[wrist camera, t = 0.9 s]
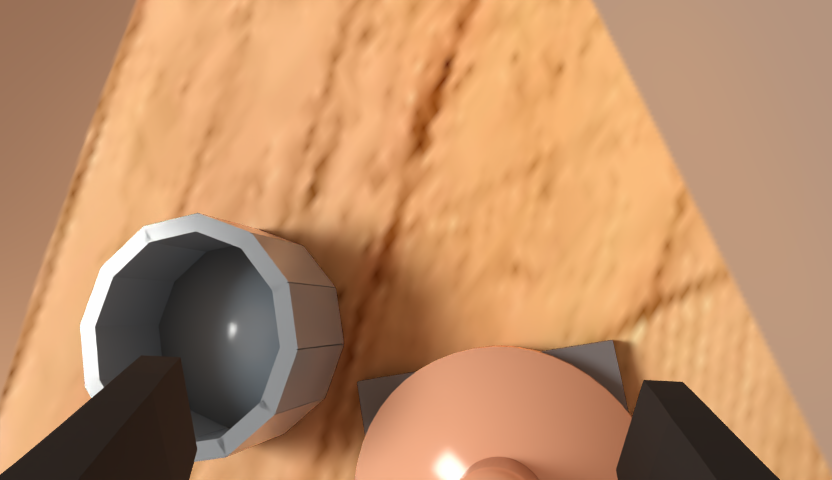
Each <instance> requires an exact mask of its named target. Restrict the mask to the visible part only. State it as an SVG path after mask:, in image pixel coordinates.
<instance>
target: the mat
mask: <svg viewBox="0 0 832 480" xmlns="http://www.w3.org/2000/svg"><path fill="white" fill-rule="evenodd" d="M540 352H543V353H546V354H549V355H553V356H555V357H557V358H559V359H562V360H564V361H566V362H568V363H571V364H572V365H574V366H576V367H577V368H579V369H581V370H582V371H584V372H586V373H587V374H589V375H590V376H591V377H593V378H594V379H595V380H597V381H598V382H599V383H600V384H602V385H603V386H604V387H605V388H606V389H607V390H608V391H609V392H610V393H611V394H612V395H613V396H614V397H615V398H616V399H617V400H618V401H619V402H620V403H621V404H622V405H623V406H624V408H625V409H626V410H627V412H628V408H627V403H626V398H625V394H624V389H623V385H622V380H621V376H620V371H619V366H618V362H617V357H616V353H615V348H614V344H613V340H608V341H602V342H595V343H589V344H583V345H577V346H571V347H565V348H558V349H552V350H546V351H540ZM416 372H417V371H416ZM414 373H415V372H410V373H404V374H398V375H392V376H385V377H379V378H373V379H367V380H362V381H358V382H357V386H358V392H359V399H360V405H361V412H362V419H363V425H364V432H365V436H366V433H367V431H368V429H369V426H370V424H371V423H372V421H373V419H374V417H375V416H376V414H377V412H378V411H379V409H380V407H381V406H382V405H383V404H384V402H385V401H386V400H387V398H388V397H389V396H390V395H391V393H392V392H393V391H394V390H395V389H396V388H397V387H398V386H399V385H400V384H402V383H403V382H404V381H405V380H406V379H407V378H409V377H410V376H411V375H413V374H414ZM628 413H629V412H628Z"/></svg>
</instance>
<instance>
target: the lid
mask: <svg viewBox="0 0 832 480" xmlns="http://www.w3.org/2000/svg"><path fill="white" fill-rule="evenodd" d="M631 419H632V417H631V416H630V414H629V413H628V412H627V410H626V409H625V408H624V406H623V405H622V404H621V403H620V402H619V401H618V400H617V399H616V398H615V397H614V396H613V395H612V394H611V393H610V392H609V391H608V390H607V389H606V388H605V387H604V386H603V385H602V384H600V383H599V382H598V381H597V380H595V379H594V378H593V377H591V376H590V375H589V374H587V373H586V372H584V371H582V370H581V369H579V368H577V367H576V366H574V365H572V364H571V363H568V362H566V361H564V360H562V359H559V358H557V357H555V356H553V355H549V354H546V353H543V352H540V351H536V350H532V349H527V348H521V347H515V346H488V347H478V348H473V349H468V350H464V351H460V352H456V353H453V354H451V355H448V356H445V357H443V358H440V359H438V360H435V361H434V362H432V363H430V364H428V365H426V366H425V367H423V368H421V369H419V370H418V371H417V372H415V373H414V374H413V375H411V376H410V377H409V378H407V379H406V380H405V381H404V382H403V383H402V384H400V385H399V386H398V387H397V388H396V389H395V390H394V391H393V392H392V393H391V395H390V396H389V397H388V398H387V400H386V401H385V402H384V404H383V405H382V406H381V407H380V409H379V411H378V412H377V414H376V416H375V417H374V419H373V421H372V423H371V424H370V426H369V429H368V431H367V433H366V436H365V438H364V441H363V443H362V447H361V450H360V454H359V457H358V461H357V468H356V474H355V480H618V478H617V473H616V468H617V464H618V461H619V458H620V455H621V451H622V448H623V445H624V442H625V439H626V435H627V432H628V429H629V426H630V422H631Z"/></svg>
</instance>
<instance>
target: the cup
mask: <svg viewBox="0 0 832 480" xmlns="http://www.w3.org/2000/svg"><path fill="white" fill-rule="evenodd" d="M80 325H81V326H80V330H81V343H82V355H83V367H84V380H85V387H86V390H87V391H88V393H89V395H90V396H91V398H92V397H93V396H94V395H96V394H97V393H98V392H99V391H100V390H101V389H103V388H104V387H105V386H106V385H107V384H108V383H109V382H111V381H112V380H113V379H114V378H115V377H116V376H118V375H119V374H120V373H121V372H122V371H123V370H125V369H126V368H127V367H128V366H129V365H130V364H132V363H133V362H134V361H135V360H136V359H138V358H139V357H140V356H141V355H144V356H165V357H181V362H182V368H183V373H184V379H185V384H186V390H187V395H188V401H189V406H190V412H191V417H192V423H193V428H194V434H195V439H196V445H197V453H196V457H195V460H194V462H195V461H202V460H210V459H217V458H224V457H228V456H230V455H233V454H235V453H238V452H240V451H243V450H245V449H247V448H250V447H252V446H255V445H257V444H260V443H262V442H265V441H267V440H270V439H272V438H275V437H277V436H280V435H282V434H284V433H286V432H287V431H288V430H289V429H290V428H291V427H292V426H294V425H295V424H296V423H297V422H298V421H299V420H301V419H302V418H303V417H304V416H305V415H306V414H307V413H309V412H310V411H311V410H312V409H313V408H314V407H315V406H317V405H318V404H319V403H320V402H321V401H322V400H323V399H325V397H326V394H327V391H328V388H329V385H330V383H331V380H332V377H333V374H334V371H335V368H336V366H337V363H338V360H339V357H340V354H341V351H342V349H343V346H344V344H343V343H344V339H343V332H342V326H341V319H340V312H339V306H338V299H337V292H336V288H335V286H334V285H333V283H332V282H331V281H330V279H329V278H328V277H327V276H326V274H325V273H324V272H323V270H322V269H321V268H320V267H319V265H318V264H317V263H316V261H315V260H314V259H313V258H312V256H311V255H310V254H309V252H308V251H307V250H306V248H305V247H304V246H303V245H300V244H297V243H295V242H292V241H289V240H286V239H284V238H281V237H278V236H275V235H273V234H270V233H267V232H265V231H262V230H259V229H256V228H252V227H248V226H245V225H241V224H237V223H233V222H230V221H226V220H222V219H218V218H215V217H211V216H207V215H204V214H200V213H196V214H192V215H188V216H184V217H180V218H175V219H171V220H167V221H163V222H159V223H155V224H151V225H147V226H144V227H142V228H141V229H140V230H139V231H138V232H137V233H136V234H135V235H134V236H133V237H132V238H131V239H130V240H129V241H128V242H127V243H126V244H125V245H124V246H123V247H122V248H121V249H120V250H118V251H117V252H116V253H115V254H114V255H113V256H112V257H111V258H110V259H109V260H108V261H107V262H106V263H105V264H104V265H103V266H102V268H101V269H100V272H99V275H98V277H97V280H96V283H95V286H94V288H93V291H92V294H91V297H90V299H89V302H88V305H87V308H86V310H85V313H84V316H83V319H82V321H81V324H80Z"/></svg>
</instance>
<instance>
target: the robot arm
mask: <svg viewBox="0 0 832 480" xmlns="http://www.w3.org/2000/svg"><path fill="white" fill-rule="evenodd" d="M196 453H197V445H196V439H195V434H194V428H193V423H192V417H191V412H190V406H189V401H188V395H187V390H186V384H185V379H184V373H183V368H182V362H181V357H165V356H144V355H141V356H140V357H139V358H138V359H136V360H135V361H134V362H133V363H132V364H130V365H129V366H128V367H127V368H126V369H125V370H123V371H122V372H121V373H120V374H119V375H118V376H116V377H115V378H114V379H113V380H112V381H111V382H109V383H108V384H107V385H106V386H105V387H104V388H103V389H101V390H100V391H99V392H98V393H97V394H96V395H94V396H93V397H92V398H91V399H90V400H89V401H88V402H86V403H85V404H84V405H83V406H82V407H81V408H80V409H78V410H77V411H76V412H75V413H74V414H73V415H71V416H70V417H69V418H68V419H67V420H66V421H65V422H63V423H62V424H61V425H60V426H59V427H57V428H56V429H55V430H54V431H53V432H51V433H50V434H49V435H48V436H47V437H46V438H44V439H43V440H42V441H41V442H40V443H38V444H37V445H36V446H35V447H34V448H32V449H31V450H30V451H29V452H28V453H26V454H25V455H24V456H23V457H22V458H21V459H19V460H18V461H17V462H16V463H14V464H13V465H12V466H11V467H9V468H8V469H7V470H6V471H4V472H3V473H2V474H1V475H0V480H189V478H190V474H191V471H192V467H193V464H194V460H195V457H196ZM616 473H617V478H618V480H780V479H779V478H778V477H777V476H776V475H775V474H774V473H773V472H772V471H771V470H770V469H769V468H768V467H767V466H766V465H765V464H764V463H763V462H762V461H761V460H760V459H759V458H758V457H757V456H756V455H755V454H754V453H753V452H752V451H751V450H750V449H749V448H748V447H747V446H746V445H745V444H744V443H743V442H742V441H741V440H740V439H739V438H738V437H737V436H736V435H735V434H734V433H733V432H732V431H731V430H730V429H729V428H728V427H727V426H726V425H725V424H724V423H723V422H722V421H721V420H720V419H719V418H718V417H717V416H716V415H715V414H714V413H713V412H712V411H711V410H710V409H709V408H708V407H707V406H706V405H705V404H704V403H703V402H702V401H701V400H700V399H699V398H698V397H697V396H696V395H695V394H694V393H693V392H692V391H691V390H690V389H689V388H688V387H687V386H686V385H685V384H684V383H683V382H672V381H652V380H644V381H643V384H642V387H641V390H640V394H639V397H638V400H637V403H636V406H635V410H634V413H633V416H632V419H631V422H630V426H629V429H628V432H627V435H626V439H625V442H624V445H623V448H622V451H621V455H620V458H619V461H618V464H617V468H616Z"/></svg>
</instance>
